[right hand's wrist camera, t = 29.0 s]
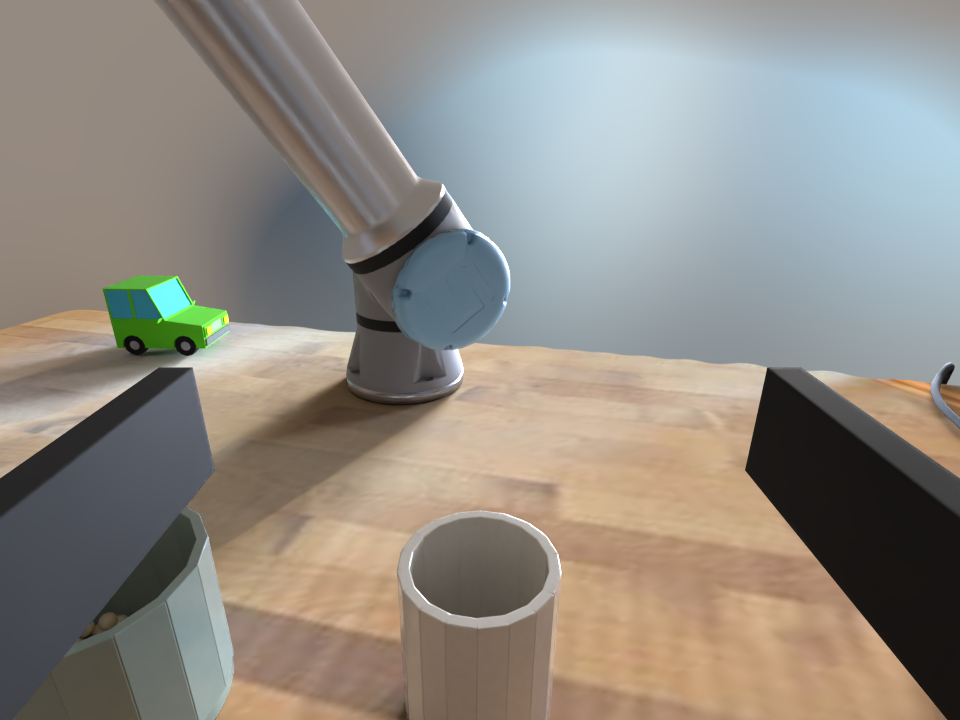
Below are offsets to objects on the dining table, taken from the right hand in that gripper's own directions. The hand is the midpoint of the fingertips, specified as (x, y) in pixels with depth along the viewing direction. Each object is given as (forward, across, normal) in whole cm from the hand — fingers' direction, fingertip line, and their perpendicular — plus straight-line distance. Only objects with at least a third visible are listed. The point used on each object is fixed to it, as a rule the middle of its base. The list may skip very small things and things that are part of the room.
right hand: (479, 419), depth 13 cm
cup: (+10, 0, -23) cm, 25 cm away
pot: (+10, -20, -23) cm, 32 cm away
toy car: (+66, -46, -23) cm, 84 cm away
